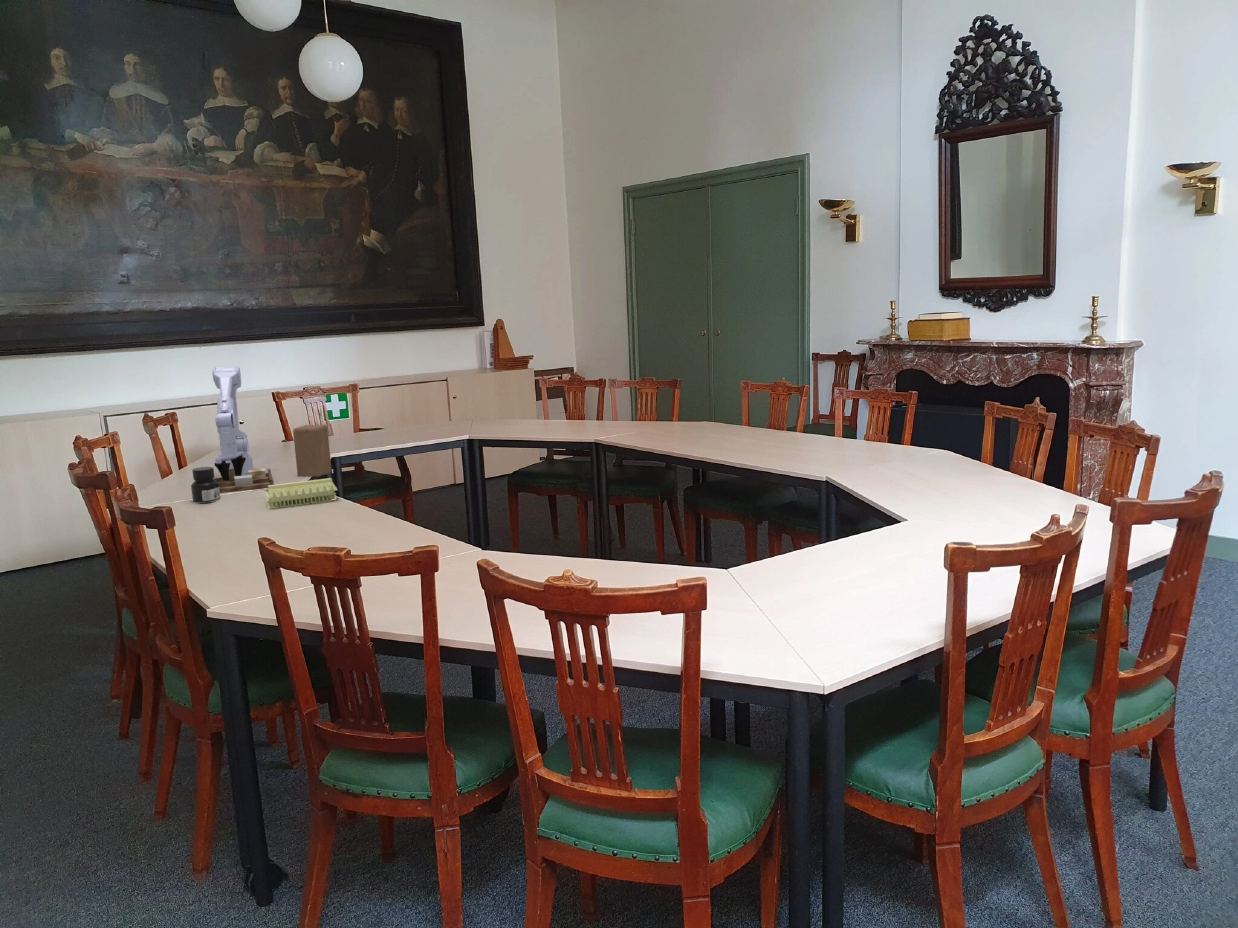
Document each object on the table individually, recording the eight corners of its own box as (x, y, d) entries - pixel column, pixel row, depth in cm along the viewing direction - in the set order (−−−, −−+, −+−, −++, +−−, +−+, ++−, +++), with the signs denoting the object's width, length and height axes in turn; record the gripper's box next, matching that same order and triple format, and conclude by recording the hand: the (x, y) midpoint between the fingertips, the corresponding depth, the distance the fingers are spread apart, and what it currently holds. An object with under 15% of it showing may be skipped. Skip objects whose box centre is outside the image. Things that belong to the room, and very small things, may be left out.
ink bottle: (209, 505, 305) (204, 471, 302) (186, 504, 307) (182, 471, 304) (226, 498, 314) (222, 466, 312) (204, 498, 316) (200, 465, 314)
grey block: (235, 489, 325) (234, 478, 324) (235, 486, 330) (234, 476, 329) (253, 487, 327) (251, 477, 327) (252, 485, 332) (251, 474, 331)
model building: (335, 493, 319) (334, 474, 317) (342, 501, 307) (340, 481, 305) (262, 502, 308) (260, 483, 306) (266, 511, 296) (264, 490, 294)
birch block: (229, 484, 334) (228, 470, 333) (229, 482, 339) (228, 468, 338) (266, 480, 339) (264, 467, 338) (265, 478, 344) (264, 465, 343)
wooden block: (319, 478, 344) (314, 428, 341) (296, 478, 346) (291, 428, 343) (332, 473, 354) (328, 424, 350) (310, 472, 356) (305, 424, 352)
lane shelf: (203, 497, 317) (202, 486, 317) (205, 484, 339) (203, 475, 338) (273, 489, 327) (272, 479, 326) (271, 477, 348) (270, 468, 348)
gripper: (231, 440, 342) (235, 474, 344) (206, 446, 328) (210, 482, 330) (247, 440, 340) (250, 474, 343) (222, 447, 326) (227, 482, 329)
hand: (232, 478), depth 337 cm, fingers open, 7 cm apart
